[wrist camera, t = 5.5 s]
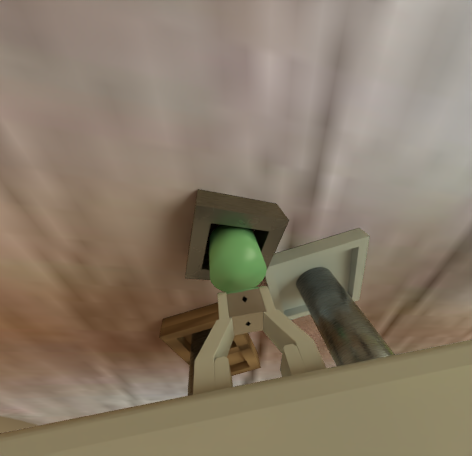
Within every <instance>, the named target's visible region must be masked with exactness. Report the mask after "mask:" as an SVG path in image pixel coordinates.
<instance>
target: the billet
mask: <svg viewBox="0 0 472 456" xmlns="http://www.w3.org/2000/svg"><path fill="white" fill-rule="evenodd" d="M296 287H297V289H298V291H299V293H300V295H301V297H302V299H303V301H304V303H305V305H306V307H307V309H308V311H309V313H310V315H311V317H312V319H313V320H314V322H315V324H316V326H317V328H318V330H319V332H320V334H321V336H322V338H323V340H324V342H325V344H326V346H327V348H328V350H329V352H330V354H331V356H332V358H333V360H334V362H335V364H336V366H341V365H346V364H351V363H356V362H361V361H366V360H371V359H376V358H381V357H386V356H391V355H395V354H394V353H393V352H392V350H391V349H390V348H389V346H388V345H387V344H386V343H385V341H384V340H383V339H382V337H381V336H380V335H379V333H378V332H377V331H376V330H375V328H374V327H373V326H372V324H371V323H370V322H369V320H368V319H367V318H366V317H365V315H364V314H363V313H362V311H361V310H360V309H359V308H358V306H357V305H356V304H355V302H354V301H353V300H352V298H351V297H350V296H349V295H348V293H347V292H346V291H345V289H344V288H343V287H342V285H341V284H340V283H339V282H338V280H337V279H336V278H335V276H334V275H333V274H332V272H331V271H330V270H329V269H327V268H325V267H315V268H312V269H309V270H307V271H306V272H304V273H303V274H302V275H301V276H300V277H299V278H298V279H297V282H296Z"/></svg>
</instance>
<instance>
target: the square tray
mask: <svg viewBox="0 0 472 456" xmlns="http://www.w3.org/2000/svg"><path fill="white" fill-rule="evenodd" d="M369 238H370V236H369V235H368V234H367V233H365V232H364V231H363V230H361V229H360V228H357V229H354V230H351V231H348V232H344V233H341V234H338V235H335V236H331V237H328V238H325V239H322V240H318V241H315V242H312V243H309V244H305V245H302V246H299V247H296V248H292V249H289V250H286V251H283V252H279V253H276V254H274V255H273V257H272V260H271V262H270V264H269V266H268V269H267V271H266V275H265V279H266V283H267V286H268V289H269V292H270V295H271V298H272V300H273V303H274V306H275V309H276V310H279V311H281V312H282V313H283V314H284V315H285V316H286V317H288V318H289V319H290V320H293V319H296V318H299V317H303V316H306V315H310V313H309V311H308V309H307V307H306V305H305V303H304V301H303V299H302V297H301V295H300V293H299V291H298V289H297V287H296V282H297V279H298V278H299V277H300V276H301V275H302V274H303V273H304V272H306V271H307V270H309V269H312V268H315V267H325V268H327V269H329V270H330V271H331V272H332V274H333V275H334V276H335V278H336V279H337V280H338V282H339V283H340V284H341V285H342V287H343V288H344V289H345V291H346V292H347V293H348V295H349V296H350V297H351V298H352V300H353V301H358V300H359V298H360V292H361V286H362V280H363V274H364V268H365V262H366V256H367V250H368V244H369Z"/></svg>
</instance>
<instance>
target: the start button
mask: <svg viewBox="0 0 472 456" xmlns="http://www.w3.org/2000/svg"><path fill="white" fill-rule="evenodd" d="M209 266H210V280H211V282H212V284H213V285H214V286H215V287H216V288H217V289H219V290H221V291H224V292H230V291H237V290H242V289H248V288H254V287H256V286H257V285H258V284H260V283H261V281H262V280H263V279H264V277H265V275H266V271H267V268H266V264H265V261H264V259H263V256H262V253H261V251H260V248H259V246H258V243H257V241H256V238H255V235H254V233H253V231H252V229H249V228H242V227H235V226H228V225H221V224H220V225H219V226H217V227H216V228H215V229H214V230H213V231H212V233H211V234H210V237H209Z"/></svg>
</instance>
